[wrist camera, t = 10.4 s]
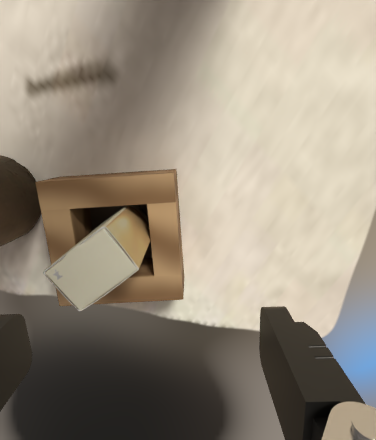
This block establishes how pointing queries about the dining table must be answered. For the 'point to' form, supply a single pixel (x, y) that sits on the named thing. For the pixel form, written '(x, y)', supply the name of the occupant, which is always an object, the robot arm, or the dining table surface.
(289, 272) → the dining table surface
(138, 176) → the socket block
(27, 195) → the pillar candle
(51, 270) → the skincare box
